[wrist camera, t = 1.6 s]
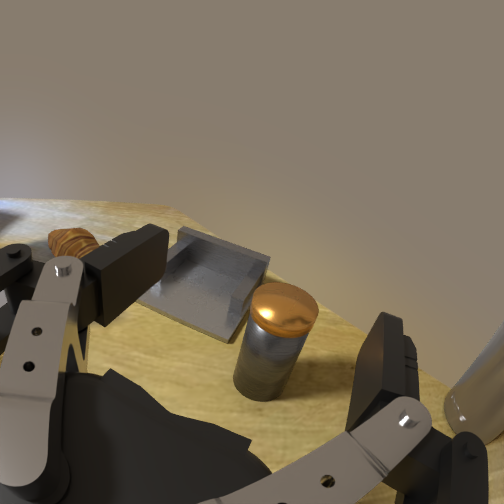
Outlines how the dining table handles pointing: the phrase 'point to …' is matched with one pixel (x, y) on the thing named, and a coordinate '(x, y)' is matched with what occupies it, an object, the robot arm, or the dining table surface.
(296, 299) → the grey and copper cylinder
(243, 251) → the keeper bracket
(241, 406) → the dining table surface
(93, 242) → the croissant
